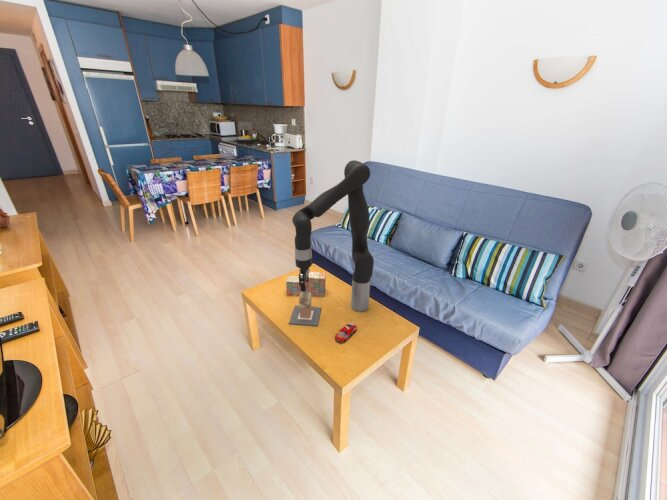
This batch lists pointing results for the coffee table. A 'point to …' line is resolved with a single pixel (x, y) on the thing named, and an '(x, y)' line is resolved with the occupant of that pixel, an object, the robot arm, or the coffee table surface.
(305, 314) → the block
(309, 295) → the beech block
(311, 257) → the robot arm
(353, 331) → the race car
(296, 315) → the board
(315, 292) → the stack of blocks
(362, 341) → the coffee table surface
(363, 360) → the coffee table surface
